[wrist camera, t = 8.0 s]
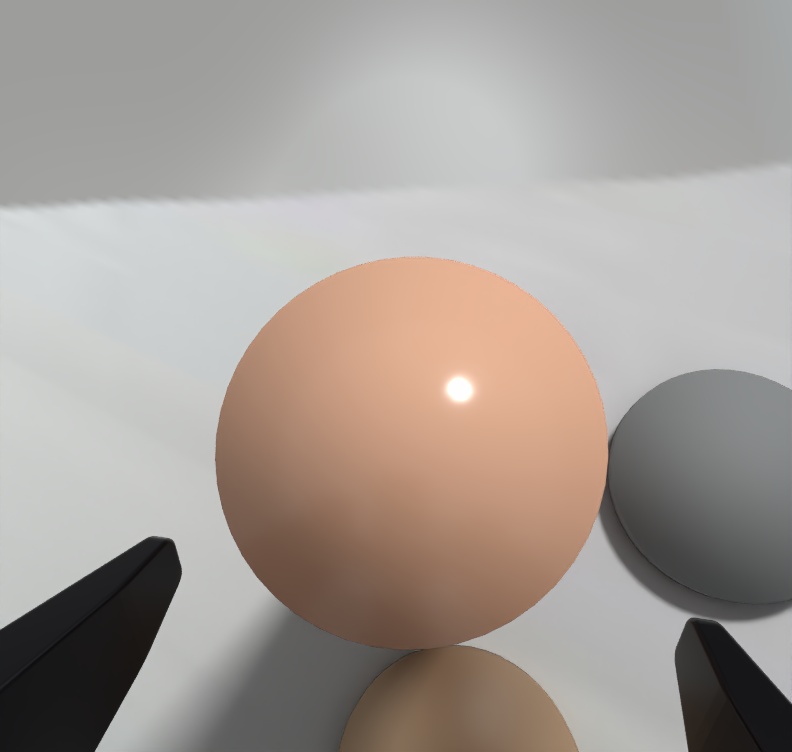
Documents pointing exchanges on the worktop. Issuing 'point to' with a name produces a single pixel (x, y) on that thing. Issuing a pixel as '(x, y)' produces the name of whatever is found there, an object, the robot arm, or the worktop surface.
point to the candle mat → (710, 483)
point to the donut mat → (455, 707)
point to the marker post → (411, 453)
